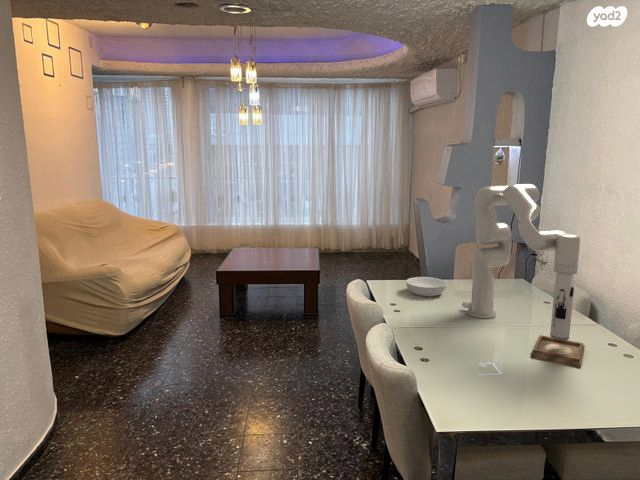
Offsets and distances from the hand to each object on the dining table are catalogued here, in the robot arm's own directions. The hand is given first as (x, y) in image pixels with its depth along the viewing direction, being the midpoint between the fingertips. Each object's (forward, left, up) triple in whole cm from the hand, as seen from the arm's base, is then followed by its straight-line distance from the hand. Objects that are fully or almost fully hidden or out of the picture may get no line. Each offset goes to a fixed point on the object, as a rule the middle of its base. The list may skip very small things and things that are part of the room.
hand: (561, 315), depth 169 cm
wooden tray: (0, 0, -15) cm, 15 cm away
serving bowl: (-68, +44, -15) cm, 82 cm away
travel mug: (0, 0, -9) cm, 9 cm away
